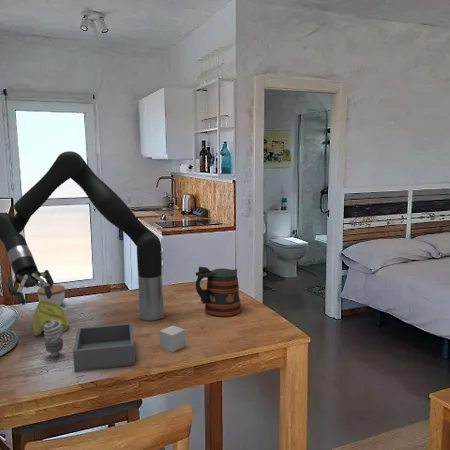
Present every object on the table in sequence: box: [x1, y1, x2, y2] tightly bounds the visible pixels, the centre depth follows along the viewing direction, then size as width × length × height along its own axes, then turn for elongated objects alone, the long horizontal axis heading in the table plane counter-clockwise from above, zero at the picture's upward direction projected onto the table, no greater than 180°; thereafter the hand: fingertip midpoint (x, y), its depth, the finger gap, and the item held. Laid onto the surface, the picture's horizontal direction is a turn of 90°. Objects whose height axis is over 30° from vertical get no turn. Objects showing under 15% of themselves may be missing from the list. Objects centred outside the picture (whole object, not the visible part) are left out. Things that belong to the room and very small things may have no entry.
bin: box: [72, 322, 136, 372], centre depth 148 cm, size 18×18×6 cm
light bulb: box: [43, 320, 64, 357], centre depth 147 cm, size 6×6×12 cm
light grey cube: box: [159, 325, 186, 353], centre depth 154 cm, size 6×6×6 cm
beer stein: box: [195, 266, 242, 317], centre depth 184 cm, size 19×15×20 cm
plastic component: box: [31, 300, 70, 337], centre depth 173 cm, size 20×7×10 cm
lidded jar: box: [37, 284, 66, 306], centre depth 192 cm, size 11×11×9 cm
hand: (37, 300), depth 153 cm, fingers open, 8 cm apart
